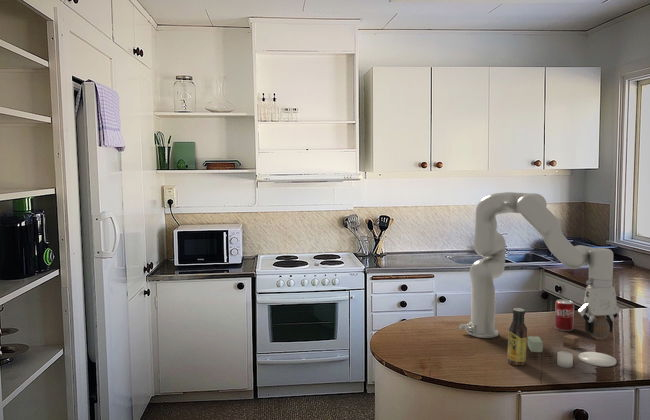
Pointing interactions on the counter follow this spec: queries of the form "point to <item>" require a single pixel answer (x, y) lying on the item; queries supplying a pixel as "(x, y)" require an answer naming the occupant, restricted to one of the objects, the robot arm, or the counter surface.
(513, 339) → the sauce bottle
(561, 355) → the plastic tub
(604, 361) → the disc
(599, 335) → the vase
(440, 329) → the counter surface
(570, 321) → the soda can
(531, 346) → the sage block
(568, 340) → the walnut block
